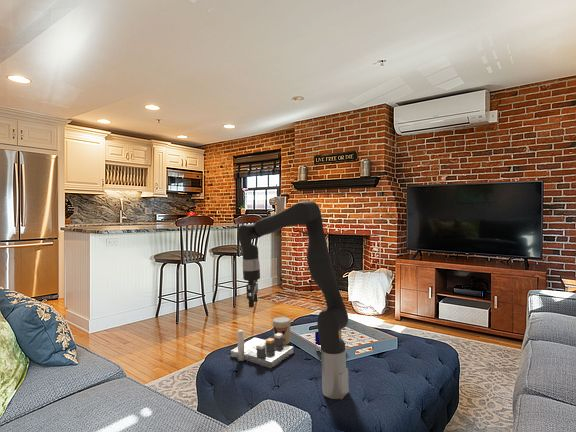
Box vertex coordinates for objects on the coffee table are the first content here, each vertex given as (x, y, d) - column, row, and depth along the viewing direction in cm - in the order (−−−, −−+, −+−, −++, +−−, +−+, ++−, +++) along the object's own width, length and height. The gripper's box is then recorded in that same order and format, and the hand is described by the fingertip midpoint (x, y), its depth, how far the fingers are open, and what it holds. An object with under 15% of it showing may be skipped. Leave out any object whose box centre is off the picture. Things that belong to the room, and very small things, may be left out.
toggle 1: (266, 355, 169) (265, 344, 169) (262, 358, 167) (261, 346, 167) (260, 353, 171) (260, 342, 171) (256, 356, 169) (256, 345, 168)
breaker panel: (293, 352, 179) (293, 346, 178) (271, 368, 164) (271, 361, 164) (254, 343, 192) (254, 337, 192) (231, 356, 177) (230, 350, 177)
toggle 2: (275, 349, 175) (274, 338, 175) (271, 352, 173) (270, 341, 172) (269, 348, 177) (269, 337, 177) (265, 350, 174) (265, 340, 174)
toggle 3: (283, 344, 181) (283, 333, 181) (279, 346, 179) (279, 336, 178) (278, 343, 183) (277, 332, 182) (274, 345, 180) (274, 334, 180)
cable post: (247, 359, 173) (245, 330, 172) (242, 362, 170) (240, 332, 169) (241, 357, 175) (239, 329, 174) (236, 360, 172) (234, 331, 171)
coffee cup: (270, 344, 189) (269, 321, 188) (277, 337, 198) (276, 315, 197) (288, 346, 186) (287, 323, 185) (293, 339, 195) (292, 317, 194)
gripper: (256, 271, 157) (258, 309, 158) (262, 265, 171) (264, 299, 172) (239, 272, 158) (241, 309, 158) (246, 265, 172) (248, 300, 173)
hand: (253, 304), depth 165 cm, fingers open, 8 cm apart
